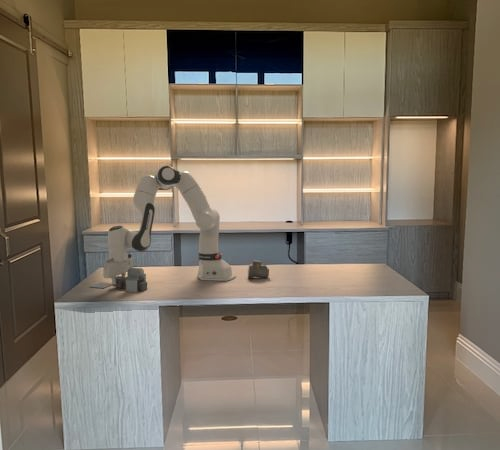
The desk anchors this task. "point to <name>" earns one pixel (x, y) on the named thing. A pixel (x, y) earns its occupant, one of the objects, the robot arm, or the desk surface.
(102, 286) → the pad
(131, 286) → the housing
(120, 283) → the grey long block-ended bar
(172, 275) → the desk surface
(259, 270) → the pipe fitting
